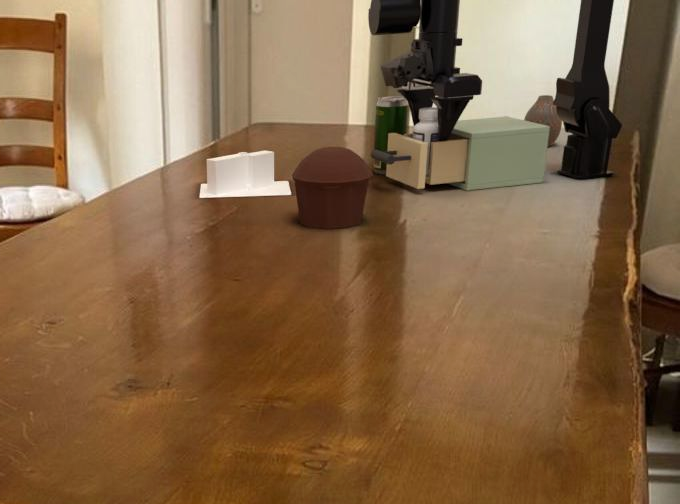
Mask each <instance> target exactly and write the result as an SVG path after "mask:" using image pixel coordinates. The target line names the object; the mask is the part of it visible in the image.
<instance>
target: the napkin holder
mask: <svg viewBox="0 0 680 504" xmlns="http://www.w3.org/2000/svg"><path fill="white" fill-rule="evenodd" d="M198 196H199V199H205V198H207V199H208V198H209V199H211V198H238V197H240V198H241V197H243V198H244V197H264V196H265V197H269V196H270V197H271V196H274V197H275V196H292V192H291V187H290V183H289V180H276V181H275V151H270V150H260V151H254V152H247V151H242V152H241V151H240V152H238V153H234V154H229V155H222V156H218V157H212V158H207V159H206V183H201V184H200V190H199V195H198Z"/></svg>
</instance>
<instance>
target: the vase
mask: <svg viewBox="0 0 680 504" xmlns="http://www.w3.org/2000/svg"><path fill="white" fill-rule="evenodd" d="M553 101H554V96H553V95H550V94H549V95H548V94H541V95H539V96H538V97H537V99H536V101H535V102H534V103H533V104H532V105H531V107H530V108H529V109H528V110H527V112H526V114H525V116H524V119H523V120H525V121H529V122H533V123H537V124H542V125H546V126H550V129H549V138H548V146H547V148H548V147H551V146H553V144H555V142H556V141H557V140H558V138H559V135H560V133H561V130H562V125H563V121H562V120H561V119H560V118H559V116H558V115H557V112H556V105H553Z"/></svg>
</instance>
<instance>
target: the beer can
mask: <svg viewBox="0 0 680 504" xmlns="http://www.w3.org/2000/svg"><path fill="white" fill-rule="evenodd" d="M408 115H409V104H408V101H407V100H406V99H405V98H404V97H403V96H402V95H389V96H381V97H378V98H377V102H376V105H375V121H374V139H373V141H374V143H373V150H379V151H381V152H385V151H387V150H388V134H389V133H397V134H400V135H403V136H404V134H408V133H407V132H408ZM372 165H373V166H372V169H373V172H374V174H378V175H382V176H383V175H385V176H386V168H387V163H384V162H381V161H379V160H376V159H373V164H372Z"/></svg>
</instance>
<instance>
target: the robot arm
mask: <svg viewBox="0 0 680 504" xmlns="http://www.w3.org/2000/svg"><path fill="white" fill-rule="evenodd" d="M614 2H615V0H580V5H579V13H578V21H577V28H576V36H575V43H574V50H573V51H574V52H573V58H572V64H571V67H570V69H569V71H568V73H567V74H566V76H565V77H557V79H556V82H555V85H556V86H555V89H556V93H555V97H554V98H553V100H554V101H553V105H556V112H557V115H558V116H559V118H560V119H561V120H562V125H563V128H564V132H565V133H566V134H567V133H569V134H567V138H566V144H565V145H564V146H563V153H562V160H561V168H558V169H556V173H558V174H562V175H564V176H568V177H571V178H575V179H583V180H584V179H592V178H600V177H610V176H614V172H613V171H611V170H608V169H609V168H608V167H609V164H610V163H609V161H610V156H611V149H612V144H613V139H617V138H618V136H619V133H620V131H621V130H622V128H623V124H622V122H621V121H620V120H619V118H617V116H616V115H615V114H614V113H613V112H612V110H611V109H610V105H611V104H610V102H611V99H610V95H611V93H610V91H611V90H610V84H609V80H608V75H607V72H606V67H605V66H606V57H607V50H608V42H609V38H610V37H609V36H610V30H611V24H612V16H613V10H614V4H615V3H614ZM460 4H461V0H371V1H370V6H369V8H368V17H367V20H368V28H369V33H370V34H371V35H372V36H384V35H386V36H387V35H403V34H410V33H412V31H413V29H414V27H418V38H413V39H412V41H411V43H410V50H409V51H407V52H404V53H402V54H399V55H398V56H396V57H394V58H392V59H390V60H387V61H386V62H384V63H382V64H381V65H380V70H381V74H382V77H383V81H384V85H385V87H392V88H393V89H396V91H397V93H398V94H400V96H401V97H404V98H405V99H406V100H407V102H408V109H409V112H410V115H411V119H412V124H413V127H414V126H415V125H416V124H417V123H419V122H420V119H419V109H422V108H431V107H433V106H436V108H437V110H438V137H439V142H440V141H447V140H448V138H449V136H450V134H451V132H452V130H453V129H454V127H455V125H456V123H457V121H459V119H460V118H461V116H462V114H463V112H464V111H465V109H466V108H467V106H468V105H469V103H470V101H473V100H474V97H475V96H480V95H482V92H483V91H482V90H483V79H482V78H481V77H480V76H479V75H478V74H474V73H469V72H461V68H460V67H457V66H456V55H457V47H462V46H463V38H462V37H458V30H459V19H460V18H459V16H460V6H461V5H460ZM418 25H419V26H418Z"/></svg>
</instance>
